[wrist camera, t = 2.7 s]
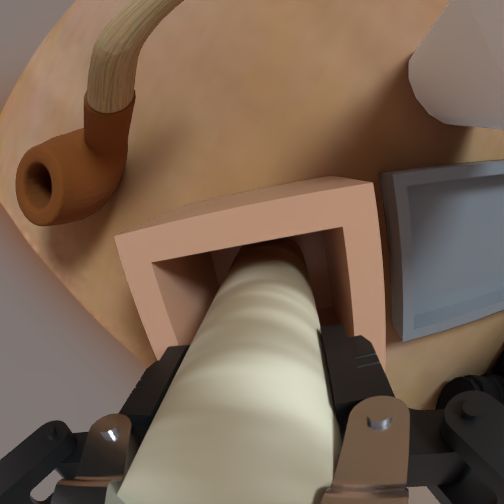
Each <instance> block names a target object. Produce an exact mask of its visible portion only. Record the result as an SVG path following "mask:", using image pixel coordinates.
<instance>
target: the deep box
mask: <svg viewBox="0 0 504 504" xmlns="http://www.w3.org/2000/svg"><path fill="white" fill-rule="evenodd" d="M283 237H289V238H290V239H292V240H293V241H294V242H295V243H296V244H297V245H298V246H299V247H300V249H301V251H302V252H303V255H304V258H305V262H306V266H307V270H308V275H309V279H310V283H311V287H312V292H313V296H314V300H315V305H316V309H317V314H318V318H319V323H320V327H325V326H330V325H335V324H341V323H343V326H344V329H345V331H346V334H347V337H348V338H349V337H353V336H358V335H362V336H363V337H365V338H366V339H367V340H369V341H370V342H371V343H372V345H373V347H374V349H375V352H376V355H377V356H378V358H379V361H380V363H381V365H382V368H383V370H384V372H385V359H386V319H385V291H384V274H383V261H382V249H381V239H380V230H379V221H378V214H377V206H376V199H375V192H374V186H373V183H372V182H367V181H361V180H355V179H349V178H343V177H336V176H326V177H320V178H314V179H309V180H303V181H298V182H292V183H287V184H282V185H277V186H272V187H267V188H262V189H257V190H252V191H247V192H242V193H238V194H233V195H228V196H224V197H219V198H215V199H211V200H206V201H202V202H198V203H193V204H189V205H185V206H182V207H180V208H177V209H175V210H173V211H170V212H168V213H165V214H163V215H161V216H158V217H156V218H154V219H151V220H149V221H147V222H144V223H142V224H140V225H138V226H135V227H133V228H131V229H129V230H126V231H124V232H122V233H120V234H118V235H115V236H114V238H115V242H116V245H117V249H118V252H119V256H120V259H121V262H122V265H123V269H124V272H125V275H126V278H127V281H128V284H129V287H130V290H131V293H132V296H133V299H134V301H135V304H136V307H137V310H138V313H139V315H140V318H141V321H142V323H143V326H144V329H145V331H146V334H147V336H148V339H149V341H150V344H151V346H152V349H153V351H154V353H155V356H156V358H157V360H158V361H159V360H160V359H161V357H162V355H163V354H164V352H165V351H166V349H167V347H169V346H178V345H191V343H192V341H193V339H194V337H195V335H196V333H197V331H198V329H199V327H200V325H201V323H202V321H203V319H204V317H205V316H206V314H207V312H208V310H209V308H210V306H211V304H212V302H213V300H214V298H215V296H216V294H217V292H218V290H219V288H220V286H221V284H222V282H223V280H224V278H225V277H226V275H227V273H228V271H229V269H230V267H231V265H232V263H233V261H234V259H235V257H236V255H237V253H238V251H239V250H240V248H241V247H242V245H245V244H251V243H256V242H261V241H267V240H272V239H278V238H283Z"/></svg>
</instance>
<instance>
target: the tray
mask: <svg viewBox="0 0 504 504" xmlns="http://www.w3.org/2000/svg"><path fill="white" fill-rule="evenodd" d="M379 176H380V183H381V189H382V196H383V203H384V211H385V219H386V228H387V237H388V248H389V261H390V276H391V299H392V326H393V327H394V329H395V330H396V332H397V334H398V335H399V337H400V338H401V340H402V342H405V341H409V340H412V339H416V338H420V337H423V336H427V335H430V334H433V333H437V332H440V331H443V330H447V329H450V328H453V327H456V326H459V325H462V324H465V323H468V322H471V321H474V320H477V319H480V318H482V317H485V316H488V315H491V314H493V313H496V312H498V311H501V310H504V160H490V161H478V162H467V163H457V164H447V165H438V166H429V167H420V168H412V169H405V170H397V171H390V172H383V173H379Z"/></svg>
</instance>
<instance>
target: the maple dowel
mask: <svg viewBox="0 0 504 504" xmlns="http://www.w3.org/2000/svg"><path fill="white" fill-rule="evenodd" d="M342 445H343V444H342V438H341V432H340V426H339V424H338V421H337V419H336V413H335V407H334V401H333V395H332V390H331V384H330V379H329V373H328V368H327V363H326V358H325V353H324V348H323V343H322V338H321V331H320V323H319V318H318V314H317V309H316V305H315V300H314V296H313V292H312V287H311V283H310V279H309V275H308V270H307V266H306V262H305V258H304V255H303V252H302V251H301V249H300V247H299V246H298V245H297V244H296V243H295V242H294V241H293V240H292V239H290V238H289V237H283V238H278V239H272V240H267V241H261V242H256V243H251V244H245V245H242V247H241V248H240V250H239V251H238V253H237V255H236V257H235V259H234V261H233V263H232V265H231V267H230V269H229V271H228V273H227V275H226V277H225V278H224V280H223V282H222V284H221V286H220V288H219V290H218V292H217V294H216V296H215V298H214V300H213V302H212V304H211V306H210V308H209V310H208V312H207V314H206V316H205V317H204V319H203V321H202V323H201V325H200V327H199V329H198V331H197V333H196V335H195V337H194V339H193V341H192V343H191V345H190V347H189V349H188V351H187V353H186V355H185V357H184V359H183V361H182V363H181V365H180V367H179V369H178V371H177V373H176V375H175V377H174V379H173V381H172V383H171V385H170V387H169V389H168V391H167V393H166V395H165V397H164V399H163V401H162V403H161V405H160V407H159V409H158V411H157V413H156V415H155V417H154V419H153V421H152V423H151V425H150V427H149V429H148V431H147V433H146V435H145V437H144V440H143V442H142V444H141V446H140V448H139V450H138V452H137V454H136V456H135V458H134V460H133V462H132V464H131V466H130V468H129V470H128V472H127V475H126V477H125V479H124V481H123V483H122V485H121V487H120V489H119V491H118V493H117V496H118V497H119V498H120V499H121V500H122V501H123V502H124V503H125V504H320V503H321V501H322V498H323V496H324V493H325V491H326V490H327V489H328V488H330V487H331V485H332V482H333V479H334V475H335V472H336V468H337V465H338V461H339V457H340V453H341V449H342Z"/></svg>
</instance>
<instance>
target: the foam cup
mask: <svg viewBox="0 0 504 504" xmlns="http://www.w3.org/2000/svg"><path fill="white" fill-rule="evenodd" d="M408 79H409V82H410V84H411V87H412V89H413V92H414V95H415V98H416V99H417V100H418V101H419V103H420V104H421V105H422V106H423V107H424V109H425V110H426V111H427V113H428V114H429V115H431V116H433V117H434V118H436V119H438V120H439V121H441V122H442V123H444V124H450V125H459V126H470V127H481V128H491V129H500V130H504V0H450V1H449V3H448V4H447V5H446V7H445V8H444V10H443V11H442V13H441V14H440V15H439V17H438V18H437V20H436V21H435V23H434V24H433V26H432V27H431V28H430V30H429V31H428V33H427V34H426V35H425V37H424V38H423V40H422V41H421V43H420V44H419V45H418V47H417V49H416V50H415V52H414V53H413V55H412V57H411V58H410V60H409V71H408Z"/></svg>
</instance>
